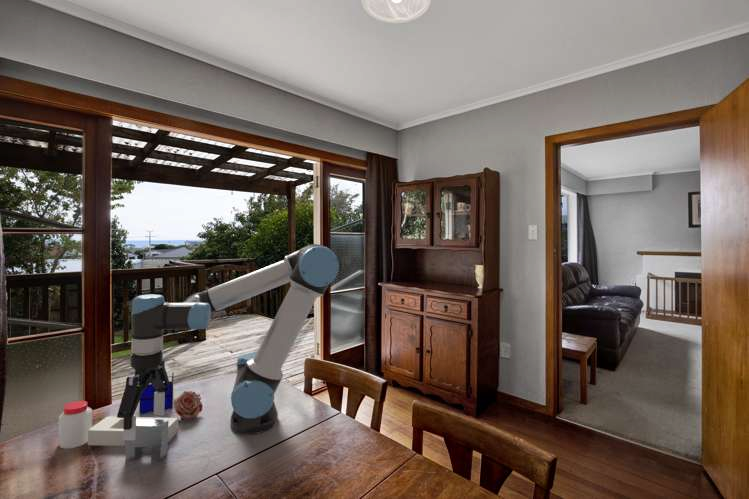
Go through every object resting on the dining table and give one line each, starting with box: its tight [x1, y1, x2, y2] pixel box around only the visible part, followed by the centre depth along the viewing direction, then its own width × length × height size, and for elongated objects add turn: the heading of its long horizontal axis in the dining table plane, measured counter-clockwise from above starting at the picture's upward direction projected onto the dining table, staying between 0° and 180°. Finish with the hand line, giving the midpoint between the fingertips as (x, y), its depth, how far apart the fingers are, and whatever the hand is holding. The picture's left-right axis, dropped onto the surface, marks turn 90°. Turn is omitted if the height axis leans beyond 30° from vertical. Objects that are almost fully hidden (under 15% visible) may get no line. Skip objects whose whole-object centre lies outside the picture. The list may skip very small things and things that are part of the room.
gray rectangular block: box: [124, 419, 168, 462], centre depth 103 cm, size 10×4×10 cm, turn 91°
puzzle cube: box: [139, 371, 174, 415], centre depth 132 cm, size 10×10×10 cm
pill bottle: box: [58, 400, 93, 449], centre depth 109 cm, size 8×8×11 cm
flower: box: [170, 390, 203, 421], centre depth 125 cm, size 10×9×8 cm
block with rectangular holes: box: [87, 416, 179, 447], centre depth 112 cm, size 22×8×4 cm, turn 91°
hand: (145, 425), depth 102 cm, fingers open, 13 cm apart
